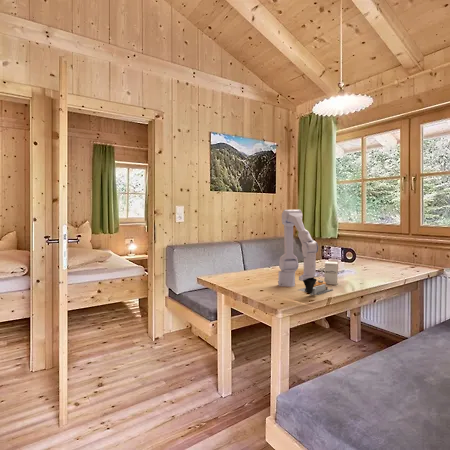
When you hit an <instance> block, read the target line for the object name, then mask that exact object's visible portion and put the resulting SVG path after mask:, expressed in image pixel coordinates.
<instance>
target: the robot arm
mask: <svg viewBox="0 0 450 450" xmlns="http://www.w3.org/2000/svg"><path fill="white" fill-rule="evenodd" d="M281 224H282V225H283V235H284V236H283V238H284V239H283V241H284V246H283V247H284V249H283V251H284V253H283V254H282V255H281V256H279V263H278V267H279V270H278V279H277V280H278V281H277V283H278V285H277V286H278V287H288V288H289V287H290V288H293V287H295V286H296V272H297V270H298V269H299V264H300V263H299V260H298V257H297V256H296V255H295V254H294V226H295V228H296V230H297V231H298V233H297V236H298V238H299V241H300V243H301V251H302V257H303V274H301V275H300V276H298V280H299V281H301V282H303V285H304V288H306V291H307V292H306V293H307V294H310V293H312V290H313V287H314V284H315V282H317V281H318V280H317V278H319V277H320V272H316V269H317V267H316V263H317V261H316V259H317V255H316V254H317V253H318V252H319V245H318V242H317V241H315V240H314V239H313V238H312V235H311V234H310V232H309V230H307V229H306V228H305V225H304V223H303V212H302V210H301V209H283V211H282V213H281Z"/></svg>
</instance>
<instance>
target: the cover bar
mask: <svg viewBox="0 0 450 450" xmlns="http://www.w3.org/2000/svg"><path fill="white" fill-rule="evenodd" d="M326 286H327V284H323V285H320V286H316V287H313V290H312V293H309V295H310V296H313V295H316V294H317V293H320V292H324V291H325V289H326Z"/></svg>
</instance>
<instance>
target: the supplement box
mask: <svg viewBox="0 0 450 450" xmlns="http://www.w3.org/2000/svg"><path fill="white" fill-rule="evenodd" d="M338 266H339V261H324V274H323V275H324V279H323V282H326V285H331V286H332V285H335V286H337V285H338V271H339V270H338V268H339V267H338Z"/></svg>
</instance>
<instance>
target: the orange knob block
mask: <svg viewBox="0 0 450 450" xmlns="http://www.w3.org/2000/svg"><path fill="white" fill-rule="evenodd" d="M315 283H316V284H319V286H320V285H323V284H326V282H324V280H317V281H316V282H315ZM326 285H327V284H326ZM325 290H326V289H325Z"/></svg>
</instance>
